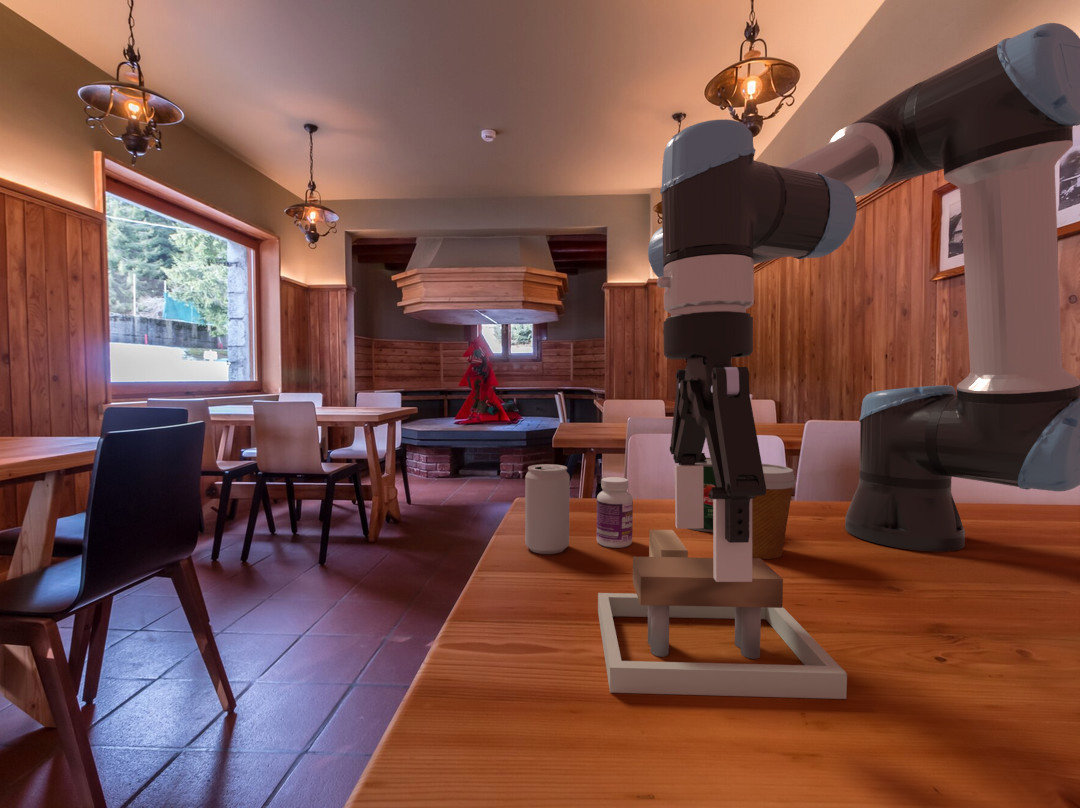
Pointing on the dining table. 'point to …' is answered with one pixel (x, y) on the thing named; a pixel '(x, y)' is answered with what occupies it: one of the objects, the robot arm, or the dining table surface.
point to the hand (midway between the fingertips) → (707, 550)
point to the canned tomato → (707, 496)
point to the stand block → (665, 544)
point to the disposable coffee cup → (772, 512)
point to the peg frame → (718, 678)
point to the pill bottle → (614, 513)
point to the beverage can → (547, 508)
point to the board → (702, 584)
